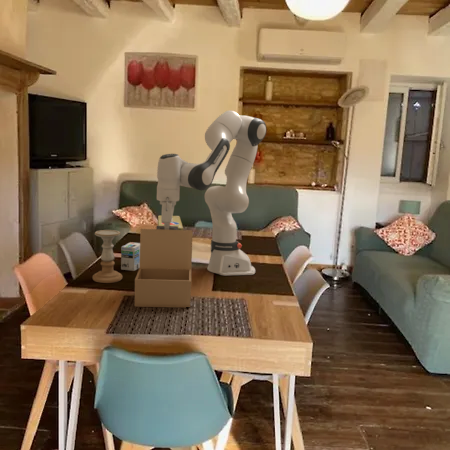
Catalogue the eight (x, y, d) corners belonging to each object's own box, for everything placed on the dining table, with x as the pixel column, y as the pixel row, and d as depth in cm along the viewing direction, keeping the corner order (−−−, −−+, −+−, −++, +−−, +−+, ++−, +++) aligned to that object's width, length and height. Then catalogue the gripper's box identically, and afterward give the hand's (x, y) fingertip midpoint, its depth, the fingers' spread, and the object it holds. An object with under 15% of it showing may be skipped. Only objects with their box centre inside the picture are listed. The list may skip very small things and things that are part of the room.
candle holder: (107, 285, 188) (107, 236, 184) (86, 279, 194) (85, 232, 190) (128, 278, 198) (129, 232, 194) (108, 272, 204) (108, 228, 201)
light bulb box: (134, 271, 209) (134, 248, 207) (120, 269, 210) (120, 246, 208) (143, 265, 219) (143, 243, 217) (129, 263, 220) (130, 241, 218)
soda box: (182, 251, 250) (183, 227, 247) (157, 251, 248) (157, 227, 245) (179, 235, 289) (180, 215, 287) (157, 235, 287) (157, 214, 285)
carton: (190, 293, 183) (191, 269, 181) (190, 307, 168) (191, 281, 166) (139, 292, 181) (139, 267, 179) (134, 306, 166) (134, 279, 165)
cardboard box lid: (191, 269, 181) (191, 266, 186) (192, 228, 179) (192, 226, 185) (139, 267, 179) (141, 265, 185) (140, 226, 178) (142, 224, 183)
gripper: (175, 199, 171) (174, 236, 173) (177, 193, 191) (176, 225, 193) (158, 199, 170) (157, 235, 173) (161, 192, 190) (160, 225, 193)
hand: (167, 230), depth 183 cm, fingers open, 3 cm apart
